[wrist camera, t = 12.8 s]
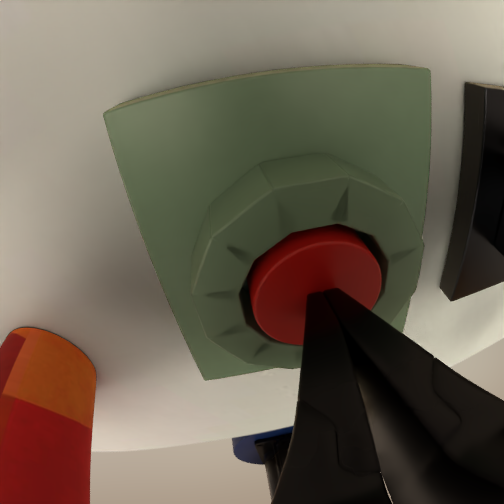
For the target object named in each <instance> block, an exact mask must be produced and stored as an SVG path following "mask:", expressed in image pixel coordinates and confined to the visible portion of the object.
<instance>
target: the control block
mask: <svg viewBox="0 0 504 504" xmlns="http://www.w3.org/2000/svg"><path fill="white" fill-rule="evenodd" d="M103 117H104V120H105V124H106V127H107V131H108V135H109V138H110V141H111V145H112V148H113V151H114V155H115V158H116V161H117V164H118V168H119V171H120V174H121V177H122V180H123V183H124V186H125V189H126V192H127V195H128V198H129V201H130V204H131V207H132V210H133V212H134V215H135V218H136V221H137V224H138V226H139V229H140V232H141V235H142V237H143V240H144V243H145V245H146V248H147V251H148V253H149V256H150V258H151V261H152V263H153V266H154V268H155V271H156V273H157V276H158V278H159V281H160V283H161V286H162V288H163V291H164V293H165V295H166V298H167V300H168V302H169V305H170V307H171V309H172V312H173V314H174V316H175V318H176V321H177V323H178V325H179V327H180V330H181V332H182V334H183V336H184V339H185V341H186V343H187V345H188V347H189V349H190V351H191V354H192V356H193V358H194V360H195V362H196V364H197V366H198V368H199V370H200V372H201V374H202V376H203V378H204V380H205V381H207V380H213V379H219V378H225V377H231V376H237V375H242V374H248V373H253V372H258V371H263V370H268V369H273V368H287V369H294V368H301V361H302V350H303V345H295V344H288V343H284V342H281V341H278V340H276V339H274V338H272V337H270V336H269V335H267V334H266V333H265V332H264V331H263V330H262V329H261V328H260V326H259V325H258V324H257V322H256V320H255V317H254V314H253V309H252V304H251V299H250V294H249V289H248V284H247V278H246V277H247V275H248V273H249V271H250V269H251V266H252V264H253V262H254V260H255V259H257V258H258V257H259V256H261V255H262V254H263V253H265V252H266V251H268V250H269V249H270V248H272V247H273V246H274V245H276V244H277V243H278V242H280V241H281V240H282V239H284V238H285V237H286V236H288V235H289V234H290V233H292V232H297V231H303V230H308V229H313V228H318V227H323V226H328V225H333V224H341V225H344V226H347V227H350V228H352V229H354V230H355V231H356V233H357V234H358V235H359V237H360V238H361V239H362V241H363V242H364V243H365V245H366V246H367V247H368V249H369V250H370V251H371V253H372V254H373V256H374V257H375V258H376V260H377V262H378V264H379V266H380V270H381V277H382V282H381V289H380V293H379V296H378V299H377V301H376V303H375V305H374V306H373V308H372V309H371V311H372V312H373V313H375V314H376V315H378V316H379V317H380V318H382V319H383V320H385V321H386V322H387V323H389V324H390V325H392V326H393V327H394V328H396V329H397V330H399V331H400V332H401V333H402V332H403V329H404V325H405V321H406V316H407V312H408V308H409V304H410V299H411V296H412V295H413V293H414V292H415V290H416V287H417V282H418V277H419V272H420V267H421V262H422V256H423V251H424V243H423V240H422V233H423V226H424V218H425V210H426V201H427V191H428V180H429V167H430V149H431V73H430V69H428V68H422V67H416V66H409V65H402V64H342V65H323V66H309V67H298V68H288V69H279V70H271V71H263V72H256V73H249V74H243V75H237V76H231V77H225V78H220V79H215V80H210V81H205V82H200V83H196V84H191V85H187V86H182V87H178V88H174V89H170V90H166V91H162V92H158V93H155V94H151V95H148V96H144V97H141V98H137V99H134V100H130V101H127V102H124V103H121V104H119V105H117V106H115V107H113V108H111V109H109V110H108V111H106V112H104V113H103Z"/></svg>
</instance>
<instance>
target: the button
mask: <svg viewBox="0 0 504 504" xmlns="http://www.w3.org/2000/svg"><path fill="white" fill-rule="evenodd" d="M246 278H247V284H248V289H249V294H250V299H251V304H252V309H253V314H254V317H255V320H256V322H257V324H258V325H259V326H260V328H261V329H262V330H263V331H264V332H265V333H266V334H267V335H269V336H270V337H272V338H274V339H276V340H278V341H281V342H284V343H288V344H295V345H303V339H304V327H305V314H306V300H307V295H308V294H310V293H314V292H319V291H321V292H323V291H324V290H327V289H332V288H339V289H341V290H342V291H344V292H345V293H347V294H348V295H350V296H351V297H352V298H354V299H355V300H357V301H358V302H359V303H361V304H362V305H364V306H365V307H366V308H368V309H369V310H371V309H372V308H373V306H374V305H375V303H376V301H377V299H378V296H379V293H380V289H381V282H382V277H381V270H380V266H379V264H378V262H377V260H376V258H375V257H374V256H373V254H372V253H371V251H370V250H369V249H368V247H367V246H366V245H365V243H364V242H363V241H362V239H361V238H360V237H359V235H358V234H357V233H356V231H355V230H354V229H352V228H350V227H347V226H344V225H341V224H333V225H328V226H323V227H318V228H313V229H308V230H303V231H297V232H292V233H290V234H289V235H288V236H286V237H285V238H284V239H282V240H281V241H280V242H278V243H277V244H276V245H274V246H273V247H272V248H270V249H269V250H268V251H266V252H265V253H263V254H262V255H261V256H259V257H258V258H257V259H255V260H254V262H253V264H252V266H251V269H250V271H249V273H248V275H247V277H246Z"/></svg>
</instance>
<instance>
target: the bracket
mask: <svg viewBox="0 0 504 504" xmlns="http://www.w3.org/2000/svg"><path fill="white" fill-rule="evenodd" d="M503 281H504V87H502V86H496V85H488V84H480V83H471V82H466V83H465V128H464V145H463V157H462V167H461V177H460V185H459V192H458V199H457V206H456V212H455V218H454V224H453V229H452V235H451V240H450V245H449V249H448V254H447V258H446V263H445V267H444V271H443V275H442V279H441V283H440V289H441V290H442V291H443V292H444V294H445V295H446V296H447V297H448V299H449V300H450V301H454V300H457V299H460V298H463V297H465V296H468V295H471V294H473V293H476V292H478V291H481V290H483V289H486V288H489V287H491V286H493V285H496V284H498V283H501V282H503Z"/></svg>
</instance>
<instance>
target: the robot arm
mask: <svg viewBox="0 0 504 504" xmlns="http://www.w3.org/2000/svg"><path fill="white" fill-rule="evenodd" d="M254 444H255V448H256V450H257V452H258V454H259V456H260V459H261V461H262V463H263V464H265V467H266V472H267V478H268V483H269V489H270V495H271V500H272V502H271V504H392V502H393V504H504V401H503V400H502V399H500V398H498V397H496V396H495V395H493V394H491V393H489V392H488V391H486V390H484V389H482V388H481V387H479V386H477V385H476V384H474V383H472V382H471V381H469V380H467V379H466V378H464V377H463V376H461V375H460V374H458V373H457V372H455V371H454V370H453V369H451V368H450V367H448V366H447V365H445V364H444V363H443V362H441V361H440V360H439V359H437V358H434V356H433V355H432V354H430V353H429V352H427V351H426V350H425V349H423V348H422V347H421V346H419V345H418V344H416V343H415V342H414V341H412V340H411V339H410V338H408V337H407V336H405V335H404V334H403V333H401V332H400V331H399V330H397V329H396V328H394V327H393V326H392V325H390V324H389V323H387V322H386V321H385V320H383V319H382V318H380V317H379V316H378V315H376V314H375V313H373V312H372V311H371V310H369V309H368V308H366V307H365V306H364V305H362V304H361V303H359V302H358V301H357V300H355V299H354V298H352V297H351V296H350V295H348V294H347V293H345V292H344V291H342V290H341V289H339V288H332V289H327V290H324V291H323V292H321V291H319V292H314V293H310V294H308V295H307V300H306V314H305V327H304V339H303V350H302V361H301V371H300V381H299V391H298V401H297V407H296V416H295V422H294V428H293V433H289V434H284V435H279V436H274V437H269V438H264V439H258V440H256V441H254ZM380 472H381V473H380ZM382 476H383V477H382ZM383 478H384V481H385V483H386V486H387V489H388V491H389V494H390V496H391V499H392V502H391V500H390V498H389V496H388V493H387V490H386V488H385V484H384V481H383Z"/></svg>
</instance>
